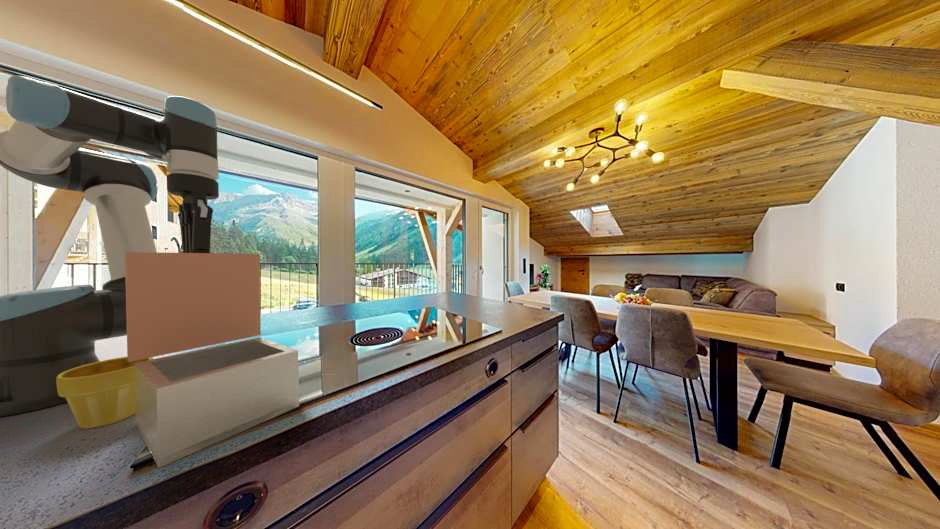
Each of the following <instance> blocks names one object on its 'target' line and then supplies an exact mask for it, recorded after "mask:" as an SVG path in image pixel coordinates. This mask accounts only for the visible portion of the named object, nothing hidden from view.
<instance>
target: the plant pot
mask: <svg viewBox="0 0 940 529" xmlns="http://www.w3.org/2000/svg"><path fill="white" fill-rule="evenodd" d="M152 359H154V357H150V358H146V359H141V360H136V361H131V362H128V360H127V356H122V357H117V358H115V357H114V358H110V359H103V360H100V361H99V362H95V363H90V364H86V365H83V366H79V367H76V368H73V369H70V370H67V371H65V372H63V373H61V374H59V375H58V376H57V378H56V383H57V392H58V395H59V396H60V397H65V398H66V400H67V402H66V403H67V404H68V406H69V408H70V410H71V413H72V415H73V416H74V419H75V420H76V423H77V426H78V427H79V428H80V429H86V430H87V429H88V428H89V429H94V428H95V427H96V428H101V427H104V426H108V425H111V424H113V423H116V422H119V421H122V420H123V421H124V420H125V419H128V418H130V417H131V416H134V415H135V387H134V363H138V362H142V361H147V360H152ZM96 428H95V429H96Z"/></svg>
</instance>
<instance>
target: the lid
mask: <svg viewBox="0 0 940 529" xmlns="http://www.w3.org/2000/svg"><path fill="white" fill-rule="evenodd" d="M260 257H261V254H260V253H225V252H224V253H223V252H222V253H220V252H219V253H214V252H210V253H182V252H157V253H155V252H125V282H126V321H127V335H126V349H127V350H126V351H127V352H126V355H127V356H126V357H127V360H128V362H131V361H136V360H141V359H146V358H150V357H153V358H154V357H158V356H165V355H169V354H174V353H178V352H179V353H180V352H184V351H189V350H194V349H198V348H200V349H201V348H203V347H210V346H213V345H218V344H223V343H224V344H225V343H227V342H233V341H238V340H239V341H240V340H245V339H247V338H249V339H250V338H253V337H254V338H255V337H257V336H258V337H259V336H261V332H262V330H261V328H262V326H261V322H262V320H261V258H260Z"/></svg>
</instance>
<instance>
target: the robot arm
mask: <svg viewBox="0 0 940 529" xmlns="http://www.w3.org/2000/svg"><path fill="white" fill-rule="evenodd" d="M5 90H6V91H5V106H6V111H7V113H8V115H9V116H10V117H12V119H13V120H15V121H14V122H13V124H12V126H11V127H10V128H9V129H8V130H5V131H0V167H2V168H3V169H5V170H6V171H8V172H10V173H12V174H14V175H15V176H17V177H20V178H21V179H24V180H27V181H29V182H32V183H35V184H38V185H41V186H44V187H49V188H53V189H60V190H65V191H73V192H80V193H82V195H83V198H84V200H85V201H87V202H88V203H90V204H92V205H94V207H95V210H96V215H97V220H98V223H99V224H98V225H99V229H100V230H99V231H100V233H101V238H102V243H103V247H104V253H105V257H106V262H107V267H108V272H109V275H110V279H109V280H108V281H106V282H105V283H104V284H102V289H97V290H95V287H93V285H92V284H77V285H70V286H67V285H65V286H58V287H57V286H56V287H49V288H41V289H33V290H25V291H20V292H19V291H18V292H14V293H7V294H3V295H0V417H6V416H13V415H17V414H22V413H27V412H32V411H33V412H34V411H38V410H42V409H45V408H49V407H53V406H56V405H61V404H65V403H68V402H67V400H66V398H65V397H60V396H59V395H58V392H57V383H56V378H57V376H58V375H59V374H61V373H63V372H65V371H67V370H70V369H73V368H76V367H79V366H83V365H86V364H90V363H95V362H99V361H101V360H100V359H99V357H98V356H97V354H96V351H95V349H96V348H95V345H96V344H95V343H96V341H102V340H106V339H107V340H108V339H113V338H119V337H127V321H126V282H125V252H155V253H158V252H157V247H156V243H155V240H154V236H153V232H152V228H151V225H150V221H149V216H148V212H147V208H146V206H148V205H149V204H150V203H151V202H152V201H153V200H155V198H156V197H157V194H158V186H157V184H158V180H157V177H156V174H155V173H154V172H155V171H153V169H152V168H151V167H150V166H149V165H148V164H147V163H145V162H143V161H140V160H136V159H132V158H129V157H126V156H117V155H113V154H109V153H103V152H100V151H95V150H93V149H92V150H91V149H86V148H82V147H83V146H84V145H85V144H86V143H88V142H89V141H90V140H94V141H97V142H101V143H102V142H103V143H106V144H109V145H110V144H111V145H114V146H119V147H122V148H127V149H131V150H135V151H139V152H143V153H144V154H146V155H148V156H150V157H151V158H153V159H154V160H158V161H161V162H166V171H167V172H168V173H169V174H167V175H166V191H167V192H168V193H169V194H170V195H173V196H177V197H180V198H182V204H181V203H179V204H178V214H177V217H178V220H179V226H180V228H179V229H180V236H181V246H182V252H181V253H211V233H212V218H213V213H214V209H213V208H212V207H211V206H210V205H208V200H209V201H210V200H217V199H218V198H219V197H220V194H219V192H220V190H219V188H220V187H219V185H220V184H219V182H218V180H219V179H220V178H219V177H220V176H219V160H218V159H219V158H218V128H219V127H218V126H217V115H216V113H215V111H214V110H213V109H212V108H211V107H210V106H208V105H207V104H205V103H203V102H200V101H198V100H195V99H193V98H189V97H186V96H179V95H170V96H167V97H166V98H165V99H164V107H163V108H162V109H163V111H164V116H163V117H161V119H159V118H155V117H152V116H148V115H146V114H144V113H143V114H142V113H140V112H137V111H133V110H131V109H128V108H124V107H122V106H119V105H118V106H117V105H115V104H112V103H110V102H109V103H108V102H106V101H104V100H103V101H102V100H101V99H97V98H94V97H91V96H88V95H85V94H82V93H78V92H76V91H73V90H71V89H70V90H69V89H67V88H63V87H60V86H59V85H57V84H54V83H50V82H45V81H41V80H37V79H34V78H31V77H27V76H23V75H17V74H16V75H15V74H14V75H12V76H11V75H10V77H9V78H8V80H7V85H6V89H5Z"/></svg>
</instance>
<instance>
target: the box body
mask: <svg viewBox="0 0 940 529" xmlns="http://www.w3.org/2000/svg"><path fill="white" fill-rule="evenodd" d="M299 371H300V370H299V350H298V349H295V348H292V347H289V346H286V345H284V344H283V345H282V344H280V343H278V342H274V341H272V340H268V339H266V338H263V337H259V336H258V337H257V336H256V337H254V338H253V337H252V338H249V339H242V340H239V341H238V340H237V341H235V342H233V341H232V342H230V343H224V344H220V345H215V346H211V347H210V346H208V347H206V348H200V349H196V350H191V351H186V352H181V353H177V354H172V355H167V356H163V357H158V358H153V359H152V360H147V361H142V362H138V363H134V387H135V414H134V415H135V416H134V417H135V427H136V430H137V431H138V432H139V435H140V436H141V438H142V440H143V442H144V444H145V446H146V447H148V448H147V449H148V451H149V450H150V451H151V452H152V455H153V457H152V459H153V460H154V462H155V464H156V465H157V468H158V469H159V468H162V467H164V466H166V465H168V464H171V463H173V462H176V461H178V460H180V459H183V458H185V457H187V456H189V455H192V454H193V453H196V452H198V451H201V450H203V449H205V448H208V447H209V446H213V445H215V444H216V443H219V442H221V441H224V440H226V439H228V438H230V437H233V436H234V435H237V434H240V433H241V432H243V431H247V430H249V429H250V428H253V427H255V426H257V425H261V423H264V422H266V421H269V420H271V419H274V418H276V417H278V416H281V415H283V414H285V413H287V412H291V411H292V410H294V409H296V408H298V407H300V384H299V383H300V381H299V378H300V377H299V376H300V375H299ZM150 451H149V452H150ZM152 455H151V456H152Z"/></svg>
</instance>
